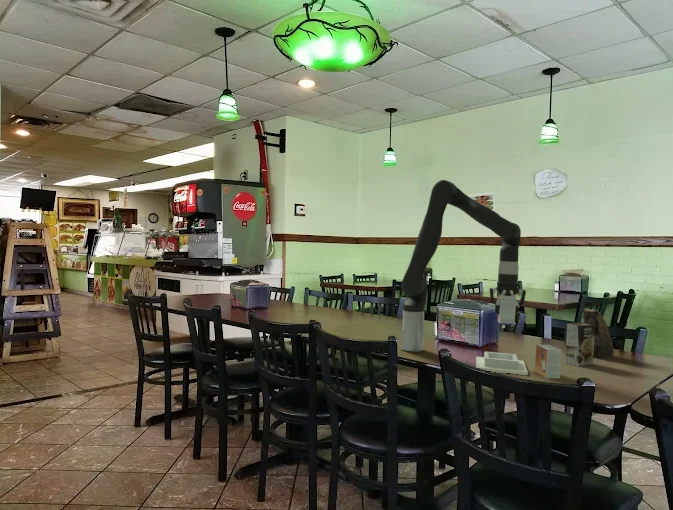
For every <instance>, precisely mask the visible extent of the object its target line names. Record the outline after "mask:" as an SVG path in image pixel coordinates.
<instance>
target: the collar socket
mask: <svg viewBox="0 0 673 510" xmlns="http://www.w3.org/2000/svg"><path fill="white" fill-rule="evenodd" d="M483 352H484V353H483V356H476V357H475V359H476V360H475V369H476V368H480V369H483V370H486V371H491V372H490V373H495V372H496V373H497V374H506V373H511V374H510V375H516V374H518V375H517V376H519V375H520V376H527V375H529V372H528V369H527V367H526V365H525V362H524V360H519V358H518V356H517V354H516V353H505V352H493V351H483Z"/></svg>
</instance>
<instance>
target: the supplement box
mask: <svg viewBox="0 0 673 510" xmlns="http://www.w3.org/2000/svg"><path fill="white" fill-rule="evenodd" d="M499 295H500V294H499V293H498V297H500V296H499ZM516 299H517V296H516V295H515V296H503V295H501V300H500V303H499V315H497V323H498V325H501V326H502V325H503V326H515V323H516V322H515V321H516V316H515V307H516Z"/></svg>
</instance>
